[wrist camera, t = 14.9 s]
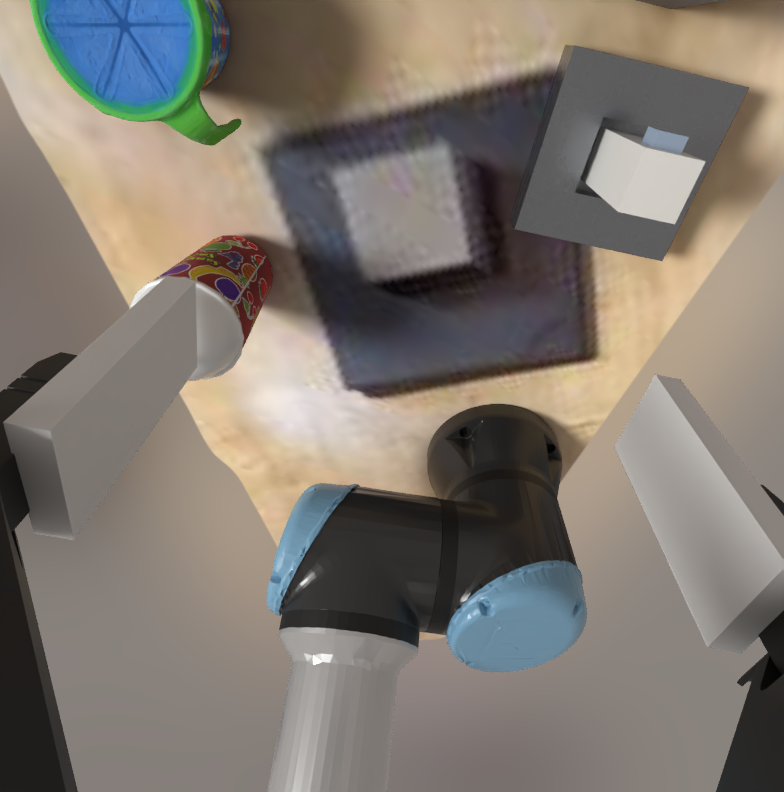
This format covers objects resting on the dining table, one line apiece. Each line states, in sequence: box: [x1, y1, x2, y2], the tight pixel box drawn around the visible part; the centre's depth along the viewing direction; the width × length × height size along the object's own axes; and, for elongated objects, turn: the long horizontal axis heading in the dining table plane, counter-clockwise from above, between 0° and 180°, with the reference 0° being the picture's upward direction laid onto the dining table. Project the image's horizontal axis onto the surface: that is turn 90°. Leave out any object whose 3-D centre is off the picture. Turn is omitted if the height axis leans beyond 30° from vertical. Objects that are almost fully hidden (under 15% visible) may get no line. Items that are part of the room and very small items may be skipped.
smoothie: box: [130, 236, 273, 381], centre depth 42 cm, size 8×8×20 cm
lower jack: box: [510, 45, 749, 261], centre depth 42 cm, size 13×13×3 cm
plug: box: [581, 126, 706, 224], centre depth 38 cm, size 5×4×10 cm
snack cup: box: [30, 0, 241, 145], centre depth 36 cm, size 16×10×10 cm
